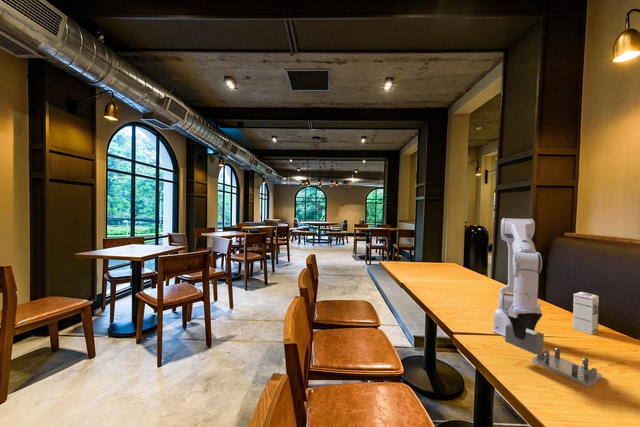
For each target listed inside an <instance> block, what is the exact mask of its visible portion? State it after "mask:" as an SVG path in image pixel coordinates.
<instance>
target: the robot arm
mask: <svg viewBox="0 0 640 427" xmlns="http://www.w3.org/2000/svg"><path fill="white" fill-rule="evenodd" d="M535 230H536V222H535V220H534V219H533V218H505V217H503V218H502V219H501V222H500V238H501V240H502V241H504V242H506V244H507V249H508V250H507V251H508V252H507V253H508V254H507V258H508V259H507V262H508V263H507V271H508V272H507V284H506V285H504V286H502V287H500V289H499V291H498V292H499V293H498V307H497V308H496V310H495V311H494V314H493V329H492V332H493V333H495V334H498V335H499V336H502V337H505V333H506V326H507V325H510V324H512V327H513V331H514V335H515V337H517V338H519V339H522V340H523V339H524V337H525V333H526V328H528V329H531V330H534V331H536V330H535V329H536V326H537V325H538V322H539V321H540V319H541V318H542V317H543V312H542V311H543V310H542V309H541V303H539V302H538V292H539V274H540V273H542V272H541V271H542V268H543V260H542V255H541V252H538V251H536V247H535V244H534V242H533V240H532V239H533V236H534V235H535Z"/></svg>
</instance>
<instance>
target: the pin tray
mask: <svg viewBox="0 0 640 427" xmlns="http://www.w3.org/2000/svg"><path fill="white" fill-rule="evenodd" d="M531 363H534V364H536V365H538V366H541V367H542V368H545V369H547V370H549V371H551V372H554V373H556V374H558V375H560V376H563V377H564V378H566V379H569V380H571V381H573V382H576V383H578V384H580V385H583V386H584V387H587V388H591V387H593V386H594V385H595V384H597V383H598V382H599V381H600V380H602V379H603V374H602V373H599V372H598V369H597V368H594V367H592V368H591V369H590V368H589V358H587V357H582V364H581V365H580V364H577V363H574V362H573V361H570V360H567V359H565V358H562V357H561V348H560V347H557V346H555V348H554V354H553V353H551V352H550V350H549V349H547V348H545V349H543V351H542V352H540V353H538V354H536V356H535V357H532V358H531Z"/></svg>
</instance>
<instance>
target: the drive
mask: <svg viewBox="0 0 640 427" xmlns="http://www.w3.org/2000/svg"><path fill="white" fill-rule="evenodd" d="M544 336H545V334H544V333H542V332H539V331H537V330H531V329H528V328H526V333H525V337H524V339H523V340H522V339H519V338H517V337H515V335H514V331H513V327H512V324H510V325H507V326H506V333H505V338H504V341H505V343H507V344H510V345H511V346H512V345H513V346H515V347H517V348H519V349H521V350H524V351H527V352H529V353H532V354H533V355H537V354H538V353H540V352H542V351H544V340H545V339H544Z"/></svg>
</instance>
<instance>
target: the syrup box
mask: <svg viewBox="0 0 640 427" xmlns="http://www.w3.org/2000/svg"><path fill="white" fill-rule="evenodd" d="M599 298H600V297H599V295H597V294H594V293H589V292H584V291H579V292H575V293H573V302H572V303H573V305H572V306H573V307H572V308H573V312H572V314H573V315H572V329H574V330H576V331H578V332H581V333H583V334H588V335H594V334H596V333H597V332H599V306H600V305H599V300H600V299H599Z"/></svg>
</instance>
